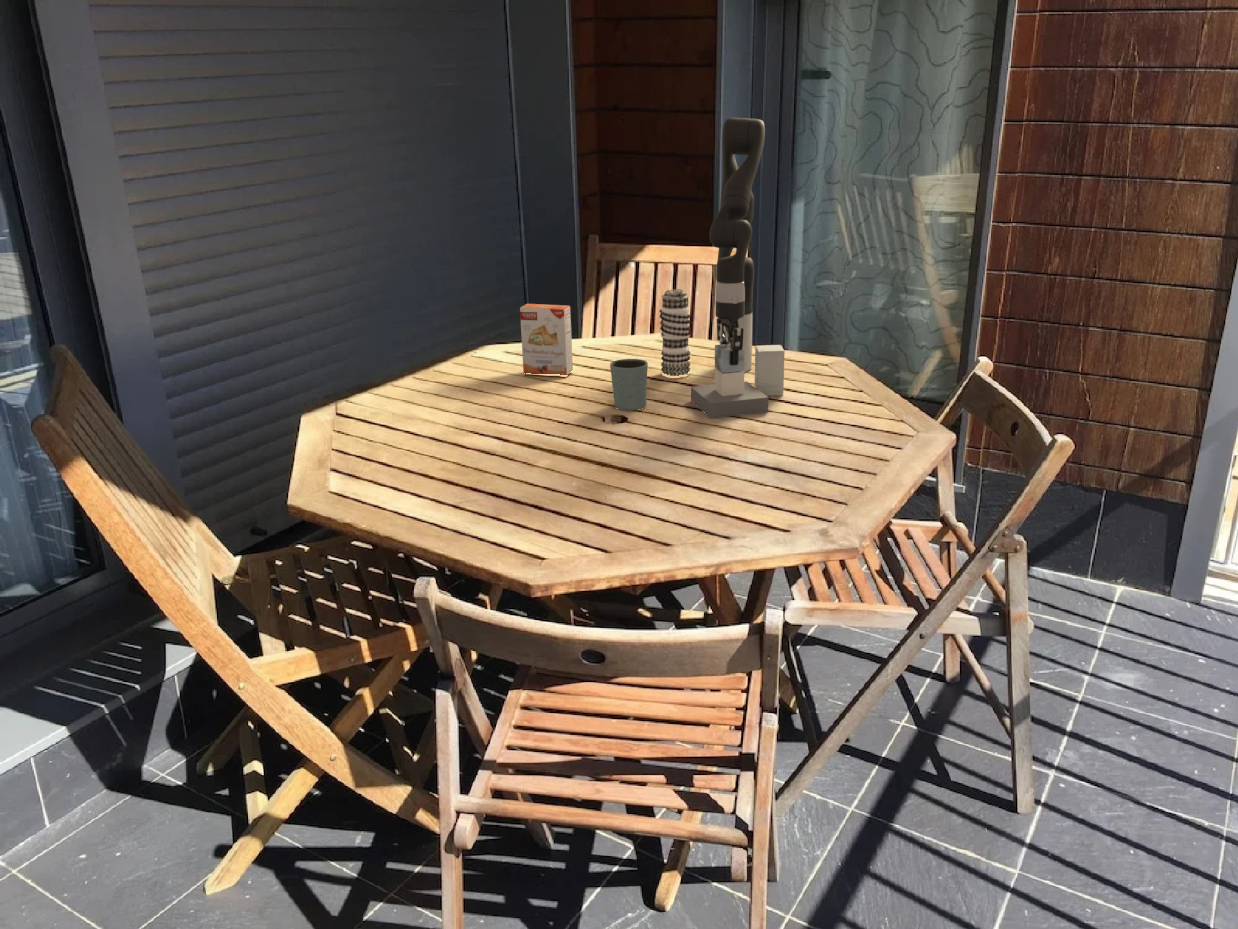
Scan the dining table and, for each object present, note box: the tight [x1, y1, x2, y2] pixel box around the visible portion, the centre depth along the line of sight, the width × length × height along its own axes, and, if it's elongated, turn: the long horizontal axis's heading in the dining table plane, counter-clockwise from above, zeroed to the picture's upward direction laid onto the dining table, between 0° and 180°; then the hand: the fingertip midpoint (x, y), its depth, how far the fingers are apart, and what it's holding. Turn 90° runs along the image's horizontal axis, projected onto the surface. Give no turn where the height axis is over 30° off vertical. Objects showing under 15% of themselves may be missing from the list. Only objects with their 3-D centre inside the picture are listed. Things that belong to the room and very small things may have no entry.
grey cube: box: [714, 344, 744, 373], centre depth 273 cm, size 6×6×6 cm
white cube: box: [714, 367, 745, 396], centre depth 275 cm, size 6×6×6 cm
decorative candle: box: [658, 288, 692, 376], centre depth 304 cm, size 9×9×25 cm
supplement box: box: [753, 344, 786, 397], centre depth 287 cm, size 7×7×13 cm
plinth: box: [690, 381, 770, 419], centre depth 276 cm, size 16×16×4 cm
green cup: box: [609, 358, 649, 412], centre depth 278 cm, size 10×10×12 cm
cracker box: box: [519, 303, 574, 375], centre depth 308 cm, size 14×6×21 cm, turn 73°
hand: (729, 361), depth 273 cm, fingers open, 6 cm apart
